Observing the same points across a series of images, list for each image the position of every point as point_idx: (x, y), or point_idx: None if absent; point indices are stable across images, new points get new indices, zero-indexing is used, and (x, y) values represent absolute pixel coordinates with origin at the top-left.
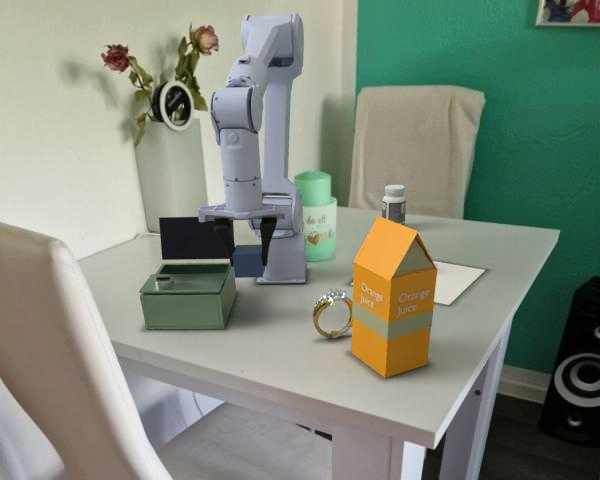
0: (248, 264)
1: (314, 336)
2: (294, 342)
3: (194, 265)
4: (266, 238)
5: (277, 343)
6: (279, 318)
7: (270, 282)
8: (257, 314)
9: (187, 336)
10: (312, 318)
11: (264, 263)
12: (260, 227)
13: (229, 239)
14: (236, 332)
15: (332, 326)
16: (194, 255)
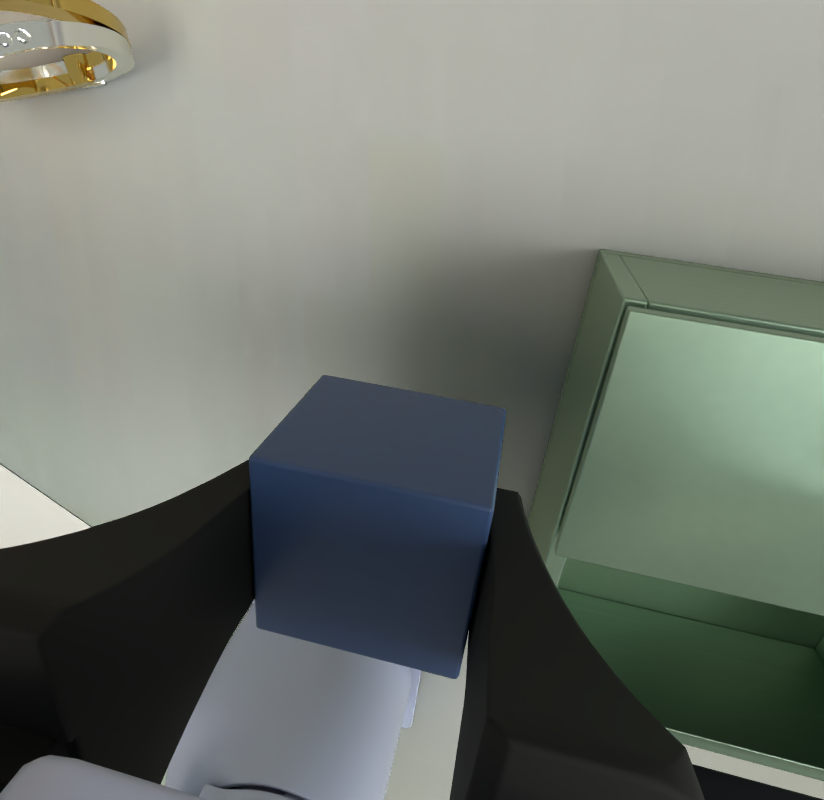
0: (384, 433)
1: (180, 100)
2: (262, 40)
3: (712, 734)
4: (119, 540)
5: (341, 37)
6: (339, 317)
7: None
8: (432, 375)
9: (811, 191)
10: (107, 47)
11: None
12: (50, 616)
13: (499, 631)
14: (539, 201)
15: (120, 197)
16: (717, 794)
